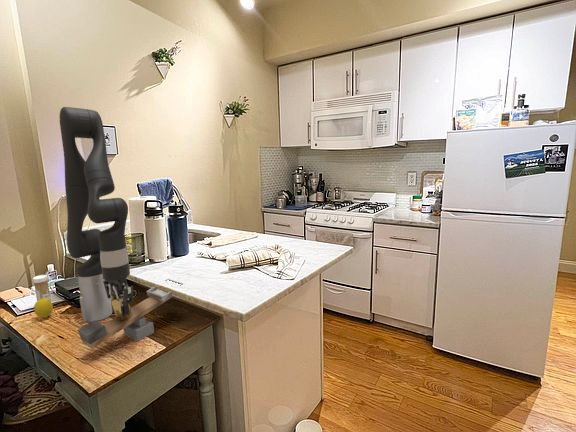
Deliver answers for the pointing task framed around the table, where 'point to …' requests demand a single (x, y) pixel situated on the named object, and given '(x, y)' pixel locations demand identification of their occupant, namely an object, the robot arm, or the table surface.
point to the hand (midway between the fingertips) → (121, 313)
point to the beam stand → (139, 329)
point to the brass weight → (119, 310)
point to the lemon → (43, 307)
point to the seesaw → (99, 332)
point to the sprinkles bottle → (41, 287)
